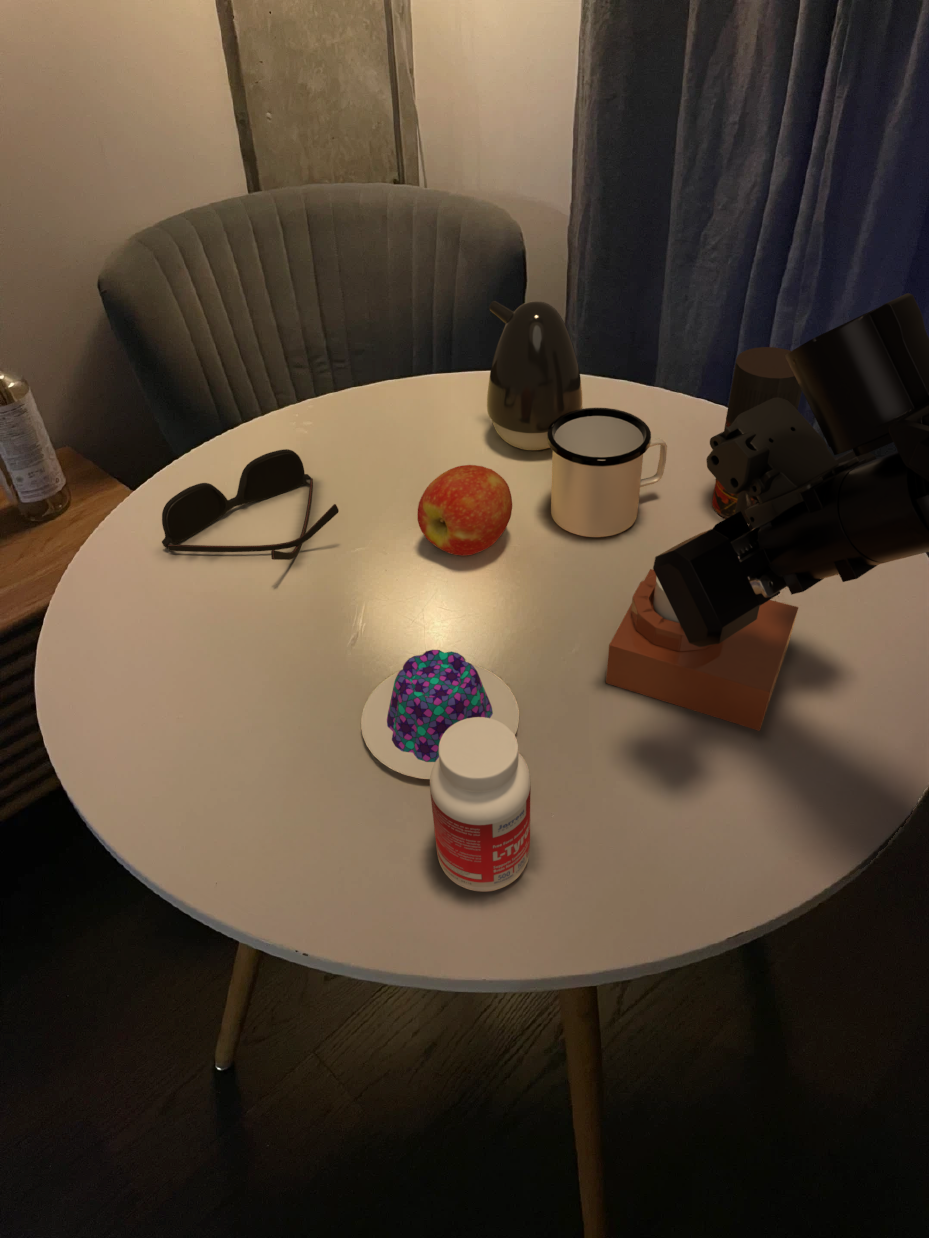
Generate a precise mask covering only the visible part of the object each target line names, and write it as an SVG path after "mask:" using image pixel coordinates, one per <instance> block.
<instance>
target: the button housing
mask: <svg viewBox="0 0 929 1238" xmlns="http://www.w3.org/2000/svg"><path fill="white" fill-rule="evenodd" d="M655 582H656V574H655V572H654V570H653V568H650V569H649V570H648V572H647V573H646V576H645V577H644V580H642V581H641V582H640V583H639V584H638V586H637V588H636V590H635V592H634V593H633V595H632V601H631V604H630V605H629V608H628V609H627V611H626V613H625V614H624V617H623V619H622V620H621V622H620V624H619V626H618V628H617V630H616V631H615V633H614V635H613V637H612V638H611V641H610V643H609V645H608V655H607V665H606V677H605V684H608V685H611V686H614V687H617V688H620V689H624V690H626V691H630V692H633V693H636V694H641V695H642V696H643V695H644V696H647V697H649V698H652V699H655V700H659V701H662V702H665V703H669V704H672V705H676V706H679V707H681V708H683V709H687V710H691V711H695V712H698V713H701V714H704V715H706V716H710V717H714V718H717V719H719V720H723V721H726V722H729V723H734V724H735V725H739V726H743V727H745V728H749V729H751V730H755V731H761V728H762V726H763V722H764V719H765V716H766V715H767V711H768V708H769V705H770V701H771V699H772V695H773V692H774V689H775V687H776V684H777V680H778V677H779V675H780V672H781V668H782V665H783V663H784V660H785V657H786V654H787V650H788V647H789V644H790V640H791V636H792V633H793V630H794V625H795V623H796V618H797V616H798V611H799V606H796V605H792V604H788V603H785V602H780V601H776V600H772V599H770V600H769V601H767V602H765V603H764V604H762V605H761V606H760V608H759V612H758V616H757V620H755V621H754V622H752V623H750V624H749V625H747V626H746V627H744V628H743V629H741V630H739V631H738V632H736V633H735V634H733V635H732V636H730V637H728V638H727V639H725V640H724V641H722V642H721V643H719V644H714V645H708V646H703V647H698V646H695V645H693V644H691V643H689V641H688V639H687V637H686V635H685V633H684V631H683V629H682V627H681V625H680V623H677V622H674V621H670V620H667V619H664V618H663V617H661V616H660V615H659V614H658V613H657V612H656V611H655V609H654V606H653V598H654V590H655Z"/></svg>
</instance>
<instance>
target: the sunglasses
mask: <svg viewBox="0 0 929 1238" xmlns="http://www.w3.org/2000/svg"><path fill="white" fill-rule="evenodd" d="M306 484H308V485H309V489H308V498H307V506H306V511H305V516H304V521H303V525H302V529H301V532H300V536H299V537H298V538H296V539H294V540H290V541H286V542H281V543H274V544H273V543H272V544H261V545H259V544H258V545H205V544H203V545H201V544H179V543H181V542H183V541H185V540H186V539H189V538H191V537H193V536H194V535H196V534H197V533H199V532H201V531H202V530H204V529H205V528H207V527H208V526H210V525H211V524H212V523H214V522H215V521H217V520H218V519H219V518H221V517H222V516H224V515H225V514H226V513H228V512H230V511H231V510H232V509H234V508H235V507H238V506H243V505H247V504H250V503H254V502H258V501H262V500H266V499H270V498H273V497H277V496H279V495H282V494H284V493H285V494H286V493H288V492H290V491H292V490H294V489H297V488H299V487H301V486H304V485H306ZM313 487H314V480H313V477H311V476H310V475H309V474H308V473H305V467H304V463H303V460H302V458H301V457H300V456H299V454H297V452H295V451H294V450H292V449H289V448H285V449H279V450H274V451H270V452H266V453H265V454H262V455H260V456H258V457H256V458H254V459H253V460H251V461H250V462H248V463H247V464H246V465H245V467H244V469H243V470H242V471H241V475H240V478H239V482H238V487H237V491H236V495H235V496H234V497H231V498H230V499H227V497H226V496H225V494H224V493H223V492H222V491H221V490H220V489H219V488H217V487H216V486H215V485H213V484H212V483H208V482H200V483H195V484H194V485H192V486H188V487H187V488H184V489H183V490H181V491H179V492H178V493H176V494H175V495H174V496H172V497H171V498H170V499H169V500H168V501H167V502H166V503H165V505H164V507H163V509H162V512H161V525H162V529H163V532H164V538H163V540H161V544H162V545H163V547H164V548H165V549H168V551H170V552H191V553H193V552H195V553H249V552H251V553H252V552H267V551H269V552H270V553H271V554H270V555H271V560H274V561H275V560H276V561H277V560H278V561H279V560H280V561H288V560H289V561H290V560H293V559H294V558H295V557H297V555H298V554H299V551H300V549H301V547H302V545H303V544H304V543H305V542H307V541H309V540H310V539H311V538H313V537H314V536H315V534H317V533H318V532H319V531H320V530H321V529H322V528H323V527H324V526H325V525H326V524H328V523H329V522H330V521H331V520H332V519H333V518H334V517H335V516H336V515H338V514H339V511H340V510H339V508H338V506H337V504H336V503H333V505H332V506H331V507H329V509H328V510H327V511H326V512H325V513H324V514H323V515H322V516H321V517H319V519H318V520H317V521H316V522H315V523H314V524H313V525H312V526H311V527H310V528H309V529H308V530H307V528H308V523H309V517H310V514H311V507H312V501H313V500H312V499H313ZM292 548H293V550H292V551H290V552H285V551H280V550H285V549H292Z"/></svg>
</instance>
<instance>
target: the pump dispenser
mask: <svg viewBox="0 0 929 1238" xmlns="http://www.w3.org/2000/svg"><path fill="white" fill-rule="evenodd" d="M488 308H489V311H490V312H491V313H492V314H494V316H496V317H497V318H498V319H500V321H502V322H503V323H504V324H505V325H504V327H503V329H502V332H501V334H500V337H499V339H498V342H497V345H496V348H495V351H494V354H493V358H492V363H491V367H490V372H489V378H488V385H487V386H488V387H487V394H486V395H487V396H486V411H487V415H488V417H489V419H490V420H491V422H492V425H493V428H494V429H495V431H496V433H497V434H498V436H499V437H500V438H501V439H502V440H503V441H504V442H505V443H507V444H509V445H510V446H512V447H515V448H518V449H521V450H525V451H542V450H547V449H551V448H550V446H549V445H548V442H547V432H548V428H549V426H550V424H551V423H552V422H553V421H554V420H555V419H557V418H558V417H560V416H561V415H564V414H566V413H568V412H571V411H575V410H579V409H583V387H582V378H581V371H580V367H579V361H578V358H577V353H576V350H575V347H574V343H573V341H572V337H571V334H570V331H569V330H568V327H567V325H566V324H565V321H564V320H563V318H562V316H561V315H560V313H559V312H558V310H557V309H556V308H555V307H554V306H552V305H551V304H549V303H547V302H545V301H541V300H531V301H528V302H524V303H522V304H521V305H519V306H518V307H517V308H516V309H515V310H512V309H510V308H508V307H506V306H505V305H503V304H501V303H499V302H498V301H496V300H493V301H491V303H490V304H489V307H488Z"/></svg>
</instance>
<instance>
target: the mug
mask: <svg viewBox="0 0 929 1238" xmlns="http://www.w3.org/2000/svg"><path fill="white" fill-rule="evenodd" d="M547 442H548V445H549V446H550V448H549V449H551V450H552V459H551V465H552V466H551V491H550V492H551V493H550V495H551V496H550V497H551V498H550V499H551V500H550V513H551V518H552V519H553V521H554V522H555V523H556V525H557V526H558V527H560V528H561V529H563V530H564V531H567V532H569V533H571V534H574V535H577V536H581V537H586V538H605V537H610V536H616V535H617V534H621V533H622V532H624V531H626V530H628V529H629V528H630V527H632V526H633V525H634V523H635V522H636V520H637V517H638V512H639V511H638V510H639V501H640V491H641V488H644V487H646V486H650V485H654V484H655V483H658V482H660V480H661V479H662V478H663V476H664V473H665V472H664V471H665V467H666V461H667V454H668V453H667V452H668V451H667V450H668V444H667V442H666V441H665V440H664V439H663V438H660V437H657V438H652V431H651V429H650V427H649V425H648V424H647V423H646V422H645V421H644V420H642V419H641V418H640V417H638V416H636V415H634V414H632V413H630V412H627V411H625V410H620V409H616V408H610V407H585V408H582V409H579V410H575V411H571V412H568V413H566V414H564V415H561V416H560V417H558V418H557V419H555V420H554V421H553V422H552V423H551V424H550V426H549V428H548V432H547ZM655 446H659V447H660V448H659V457H658V463H657V470H656V472H655V474H653V476H650V477H645V478H642V472H643V462H644V454H645V453H646V452H647V451H648V449H649V448H653V447H655Z"/></svg>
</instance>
